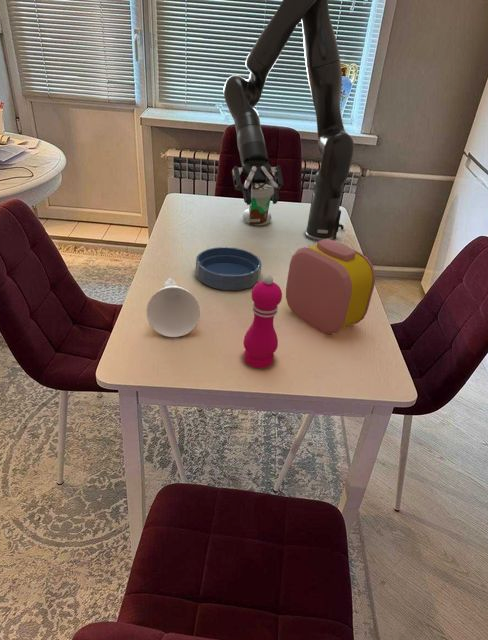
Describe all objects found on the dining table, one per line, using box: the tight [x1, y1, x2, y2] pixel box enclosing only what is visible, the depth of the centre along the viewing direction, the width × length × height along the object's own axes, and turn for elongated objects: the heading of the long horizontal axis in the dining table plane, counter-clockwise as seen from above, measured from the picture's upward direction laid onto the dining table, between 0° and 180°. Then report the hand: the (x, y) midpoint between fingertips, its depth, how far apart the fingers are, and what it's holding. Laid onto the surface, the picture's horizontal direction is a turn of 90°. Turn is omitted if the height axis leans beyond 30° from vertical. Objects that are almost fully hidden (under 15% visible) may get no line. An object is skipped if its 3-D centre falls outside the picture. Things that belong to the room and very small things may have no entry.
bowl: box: [195, 246, 263, 291], centre depth 134 cm, size 18×18×4 cm
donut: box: [242, 208, 272, 226], centre depth 169 cm, size 10×4×10 cm
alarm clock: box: [285, 239, 376, 335], centre depth 116 cm, size 18×11×19 cm, turn 41°
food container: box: [248, 179, 274, 226], centre depth 136 cm, size 12×6×10 cm, turn 0°
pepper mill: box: [243, 275, 283, 369], centre depth 100 cm, size 7×7×20 cm
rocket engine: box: [146, 277, 201, 338], centre depth 115 cm, size 12×12×18 cm
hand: (262, 203), depth 135 cm, fingers closed on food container, 7 cm apart
